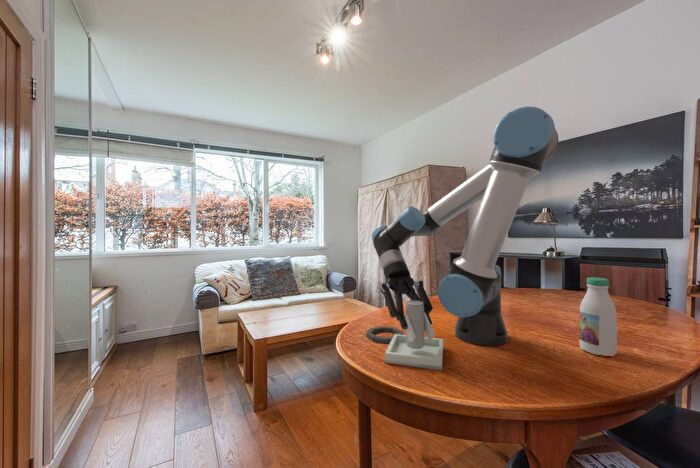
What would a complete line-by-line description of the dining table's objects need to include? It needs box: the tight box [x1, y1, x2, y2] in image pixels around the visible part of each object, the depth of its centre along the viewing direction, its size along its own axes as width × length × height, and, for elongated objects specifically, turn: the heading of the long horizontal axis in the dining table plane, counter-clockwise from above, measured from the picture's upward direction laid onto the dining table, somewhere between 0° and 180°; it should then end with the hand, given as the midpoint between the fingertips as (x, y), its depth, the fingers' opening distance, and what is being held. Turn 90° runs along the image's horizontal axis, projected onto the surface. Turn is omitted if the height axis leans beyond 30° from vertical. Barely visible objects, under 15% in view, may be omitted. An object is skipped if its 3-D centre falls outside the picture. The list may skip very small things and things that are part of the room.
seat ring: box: [365, 325, 404, 344], centre depth 93 cm, size 11×11×1 cm
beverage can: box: [405, 299, 425, 349], centre depth 79 cm, size 5×5×12 cm
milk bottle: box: [579, 276, 618, 355], centre depth 79 cm, size 8×8×20 cm
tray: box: [384, 333, 444, 371], centre depth 79 cm, size 14×14×2 cm
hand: (422, 338), depth 75 cm, fingers closed on beverage can, 5 cm apart
